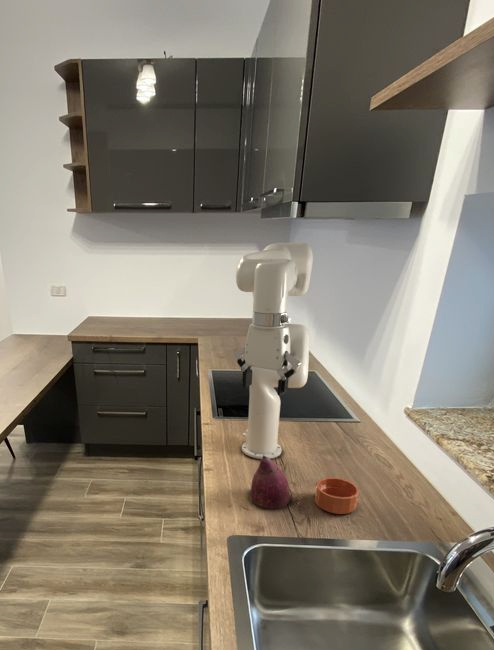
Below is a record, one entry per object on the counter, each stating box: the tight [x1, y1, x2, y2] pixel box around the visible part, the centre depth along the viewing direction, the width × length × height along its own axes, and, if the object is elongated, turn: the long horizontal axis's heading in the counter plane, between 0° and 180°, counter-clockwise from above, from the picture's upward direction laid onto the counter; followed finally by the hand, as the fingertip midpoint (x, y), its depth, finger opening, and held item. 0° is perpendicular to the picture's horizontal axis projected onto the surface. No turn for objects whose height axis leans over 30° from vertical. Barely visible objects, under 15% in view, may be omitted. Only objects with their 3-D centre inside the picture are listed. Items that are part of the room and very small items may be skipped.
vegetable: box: [250, 455, 291, 510], centre depth 115 cm, size 10×10×15 cm
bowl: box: [314, 476, 360, 515], centre depth 114 cm, size 10×10×5 cm
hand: (264, 390), depth 108 cm, fingers open, 9 cm apart
